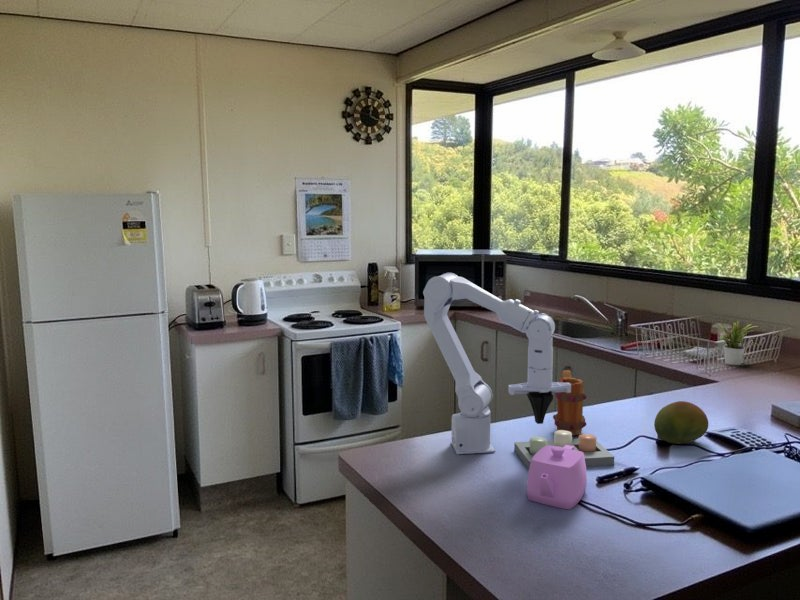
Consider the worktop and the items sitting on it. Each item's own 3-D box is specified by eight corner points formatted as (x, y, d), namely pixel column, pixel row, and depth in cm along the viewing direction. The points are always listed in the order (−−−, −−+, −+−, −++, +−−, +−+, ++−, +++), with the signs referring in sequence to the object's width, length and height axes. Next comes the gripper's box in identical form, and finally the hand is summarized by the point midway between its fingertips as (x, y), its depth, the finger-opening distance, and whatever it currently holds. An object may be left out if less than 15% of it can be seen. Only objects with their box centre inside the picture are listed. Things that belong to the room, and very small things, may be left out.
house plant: (766, 368, 227) (769, 323, 224) (727, 369, 227) (729, 324, 225) (745, 359, 241) (748, 316, 239) (708, 359, 241) (710, 317, 239)
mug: (588, 439, 163) (589, 382, 160) (555, 438, 164) (556, 381, 161) (579, 420, 177) (581, 367, 175) (549, 419, 178) (550, 367, 176)
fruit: (712, 440, 161) (714, 402, 159) (694, 455, 152) (697, 415, 150) (665, 430, 168) (667, 393, 167) (646, 443, 159) (647, 405, 158)
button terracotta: (582, 458, 150) (582, 440, 150) (575, 451, 154) (576, 434, 153) (598, 457, 151) (599, 439, 150) (591, 450, 155) (592, 433, 154)
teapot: (567, 520, 122) (569, 469, 120) (515, 507, 127) (516, 458, 126) (593, 485, 137) (595, 439, 135) (546, 474, 143) (547, 430, 141)
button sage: (532, 461, 149) (532, 443, 148) (527, 454, 153) (527, 437, 152) (549, 460, 149) (549, 442, 149) (543, 453, 153) (543, 436, 153)
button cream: (557, 454, 149) (557, 436, 149) (551, 447, 153) (552, 430, 153) (574, 453, 150) (574, 435, 149) (567, 446, 154) (568, 429, 153)
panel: (529, 470, 145) (529, 461, 145) (514, 450, 157) (514, 442, 156) (614, 464, 147) (614, 456, 147) (593, 445, 159) (593, 437, 158)
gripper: (514, 372, 145) (513, 429, 147) (576, 369, 146) (574, 426, 148) (506, 364, 152) (505, 419, 154) (565, 362, 153) (564, 416, 155)
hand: (539, 422), depth 152 cm, fingers closed
